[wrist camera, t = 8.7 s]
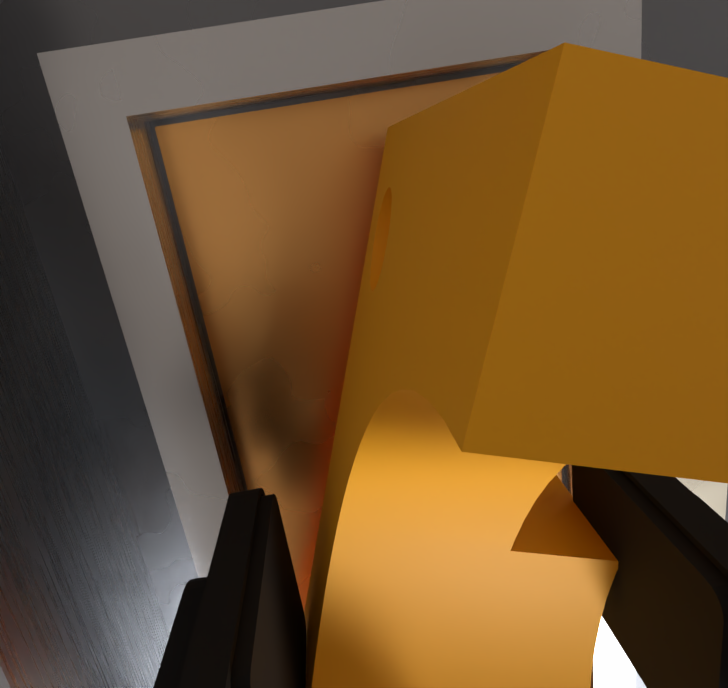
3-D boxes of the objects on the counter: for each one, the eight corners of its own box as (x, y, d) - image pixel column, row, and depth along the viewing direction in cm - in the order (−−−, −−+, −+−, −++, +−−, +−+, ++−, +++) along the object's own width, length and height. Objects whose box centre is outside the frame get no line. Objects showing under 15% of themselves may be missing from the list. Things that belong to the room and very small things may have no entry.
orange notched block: (478, 722, 13) (628, 1257, 6) (287, 711, 12) (251, 1283, 6) (650, 177, 9) (1358, 215, 3) (387, 127, 8) (565, 41, 2)
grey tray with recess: (740, -188, 10) (1241, -600, 4) (690, 719, 17) (860, 971, 12) (-134, -61, 9) (-723, -354, 4) (196, 817, 16) (140, 1125, 11)
